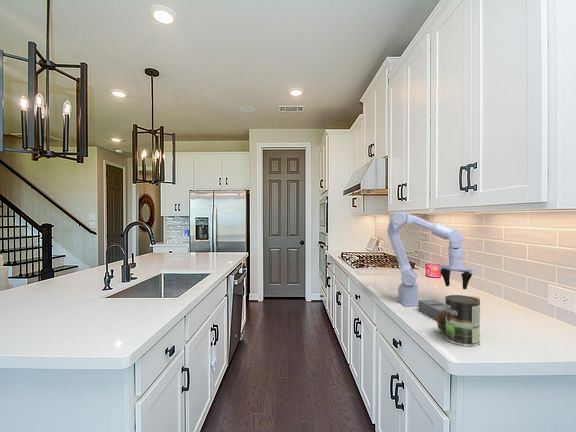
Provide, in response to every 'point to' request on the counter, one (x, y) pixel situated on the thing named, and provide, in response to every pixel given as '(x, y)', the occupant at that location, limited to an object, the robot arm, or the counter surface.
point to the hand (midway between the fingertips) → (456, 287)
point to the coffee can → (463, 320)
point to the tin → (442, 320)
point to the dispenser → (431, 307)
